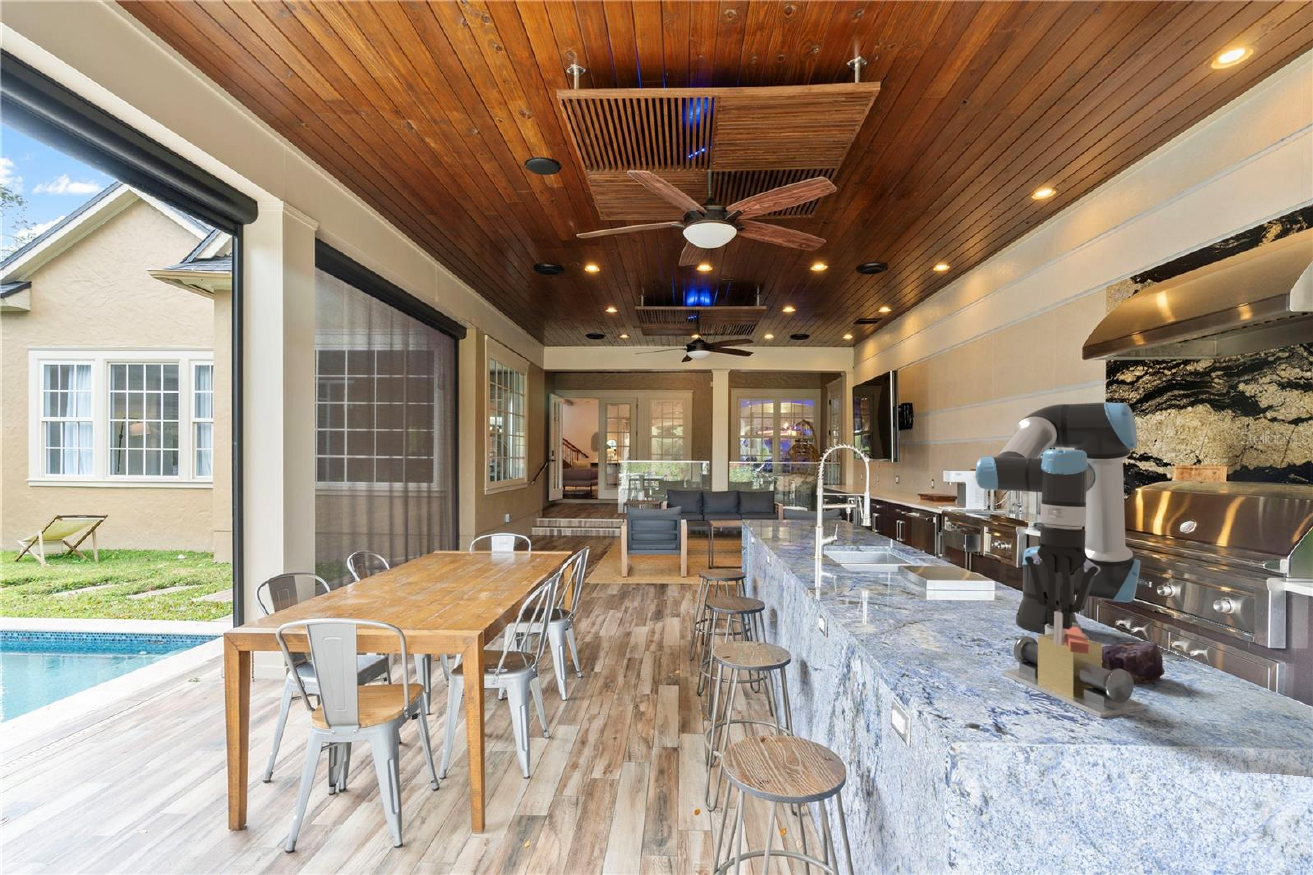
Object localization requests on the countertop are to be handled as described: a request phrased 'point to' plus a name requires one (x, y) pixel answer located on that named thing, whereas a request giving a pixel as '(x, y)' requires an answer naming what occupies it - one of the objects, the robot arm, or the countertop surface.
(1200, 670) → the countertop surface
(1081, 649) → the lever
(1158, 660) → the rock
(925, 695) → the countertop surface
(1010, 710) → the countertop surface
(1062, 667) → the valve
